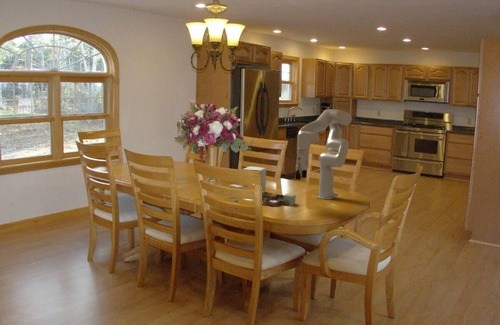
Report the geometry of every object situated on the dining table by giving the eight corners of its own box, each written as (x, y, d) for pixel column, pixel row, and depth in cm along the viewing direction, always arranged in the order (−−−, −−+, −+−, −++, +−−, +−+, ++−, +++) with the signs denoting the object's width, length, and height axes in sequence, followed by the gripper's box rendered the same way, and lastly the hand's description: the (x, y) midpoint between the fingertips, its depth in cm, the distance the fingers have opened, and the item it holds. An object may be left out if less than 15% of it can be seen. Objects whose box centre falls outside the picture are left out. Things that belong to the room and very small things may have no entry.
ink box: (243, 204, 315) (243, 186, 313) (237, 205, 312) (238, 187, 310) (233, 201, 321) (234, 183, 319) (228, 202, 317) (228, 184, 316)
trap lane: (297, 200, 329) (298, 193, 329) (282, 207, 308) (283, 200, 308) (266, 196, 340) (267, 189, 339) (250, 202, 319) (250, 195, 318)
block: (295, 203, 321) (295, 194, 320) (291, 205, 315) (291, 196, 314) (286, 202, 323) (287, 193, 322) (282, 204, 318) (283, 195, 317)
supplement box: (248, 189, 359) (249, 166, 356) (265, 191, 354) (266, 167, 351) (241, 193, 347) (242, 168, 344) (258, 195, 342) (259, 170, 339)
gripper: (302, 153, 302) (301, 181, 305) (313, 151, 317) (311, 177, 320) (291, 152, 306) (290, 179, 308) (302, 150, 321) (300, 176, 323)
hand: (301, 178), depth 314 cm, fingers open, 9 cm apart
